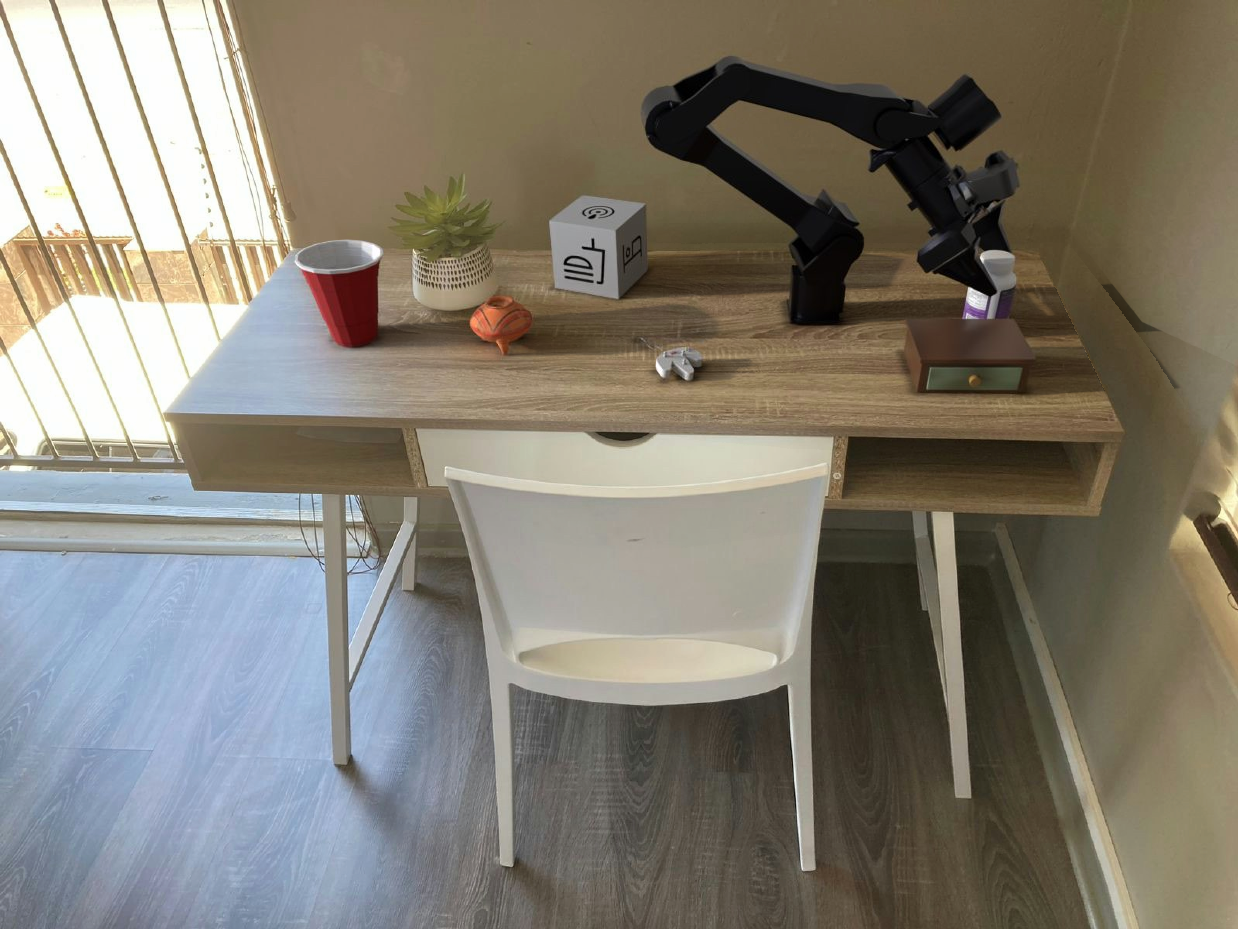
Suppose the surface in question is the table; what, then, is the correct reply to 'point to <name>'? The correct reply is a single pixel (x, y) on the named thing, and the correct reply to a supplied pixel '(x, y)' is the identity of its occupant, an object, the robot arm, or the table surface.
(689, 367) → the game controller
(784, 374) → the table surface
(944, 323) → the cabinet
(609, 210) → the icon cube
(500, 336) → the pot
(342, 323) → the plastic cup
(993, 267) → the pill bottle
